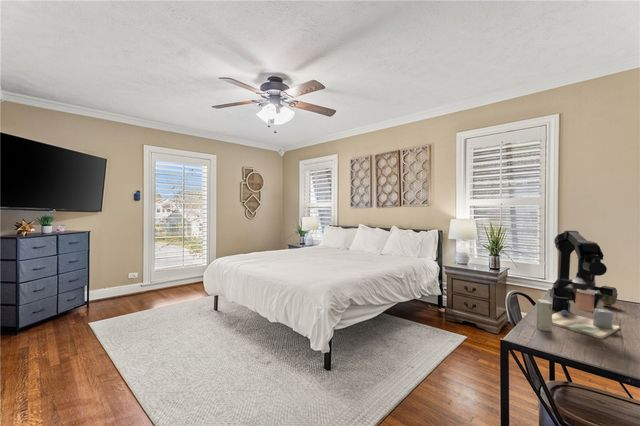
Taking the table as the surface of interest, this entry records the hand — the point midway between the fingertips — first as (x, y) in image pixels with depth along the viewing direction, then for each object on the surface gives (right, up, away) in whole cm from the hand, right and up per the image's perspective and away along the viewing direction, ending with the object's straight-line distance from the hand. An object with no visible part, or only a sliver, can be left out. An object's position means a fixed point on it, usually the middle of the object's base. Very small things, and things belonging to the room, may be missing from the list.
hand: (584, 306), depth 129 cm
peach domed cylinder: (0, -1, 0) cm, 1 cm away
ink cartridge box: (+32, -11, +34) cm, 48 cm away
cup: (+44, -11, +34) cm, 56 cm away
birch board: (+4, -11, +7) cm, 14 cm away
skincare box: (-16, -11, +2) cm, 20 cm away
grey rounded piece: (+11, -10, +3) cm, 15 cm away
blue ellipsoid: (+4, -8, +15) cm, 18 cm away
